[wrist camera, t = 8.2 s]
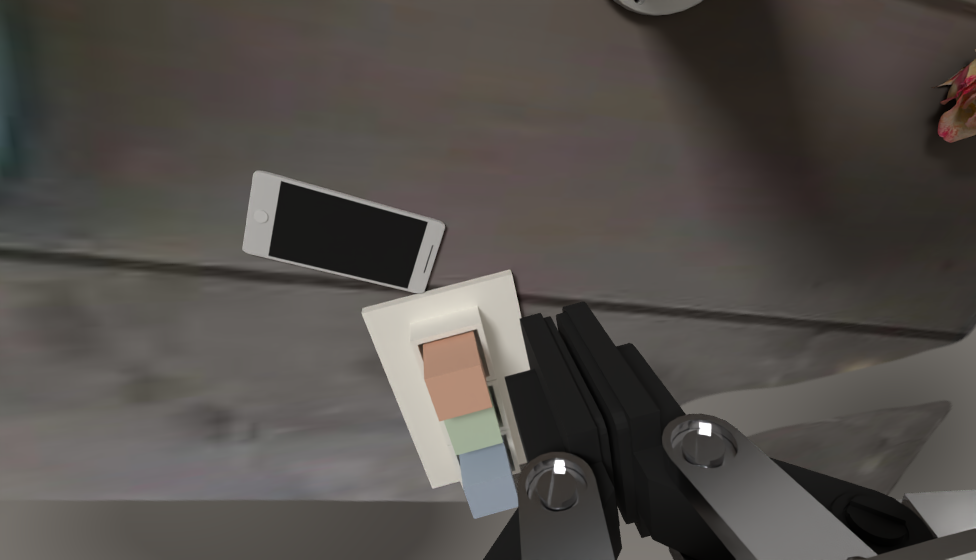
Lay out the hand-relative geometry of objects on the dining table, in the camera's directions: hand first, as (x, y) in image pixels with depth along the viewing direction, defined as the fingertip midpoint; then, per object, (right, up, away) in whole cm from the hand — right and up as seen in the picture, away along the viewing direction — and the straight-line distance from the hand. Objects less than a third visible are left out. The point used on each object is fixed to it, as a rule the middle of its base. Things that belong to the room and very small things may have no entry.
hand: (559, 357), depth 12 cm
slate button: (-2, -16, +37) cm, 40 cm away
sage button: (-4, -10, +35) cm, 37 cm away
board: (-4, -9, +37) cm, 38 cm away
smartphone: (-14, +6, +28) cm, 32 cm away
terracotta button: (-5, -5, +31) cm, 31 cm away
